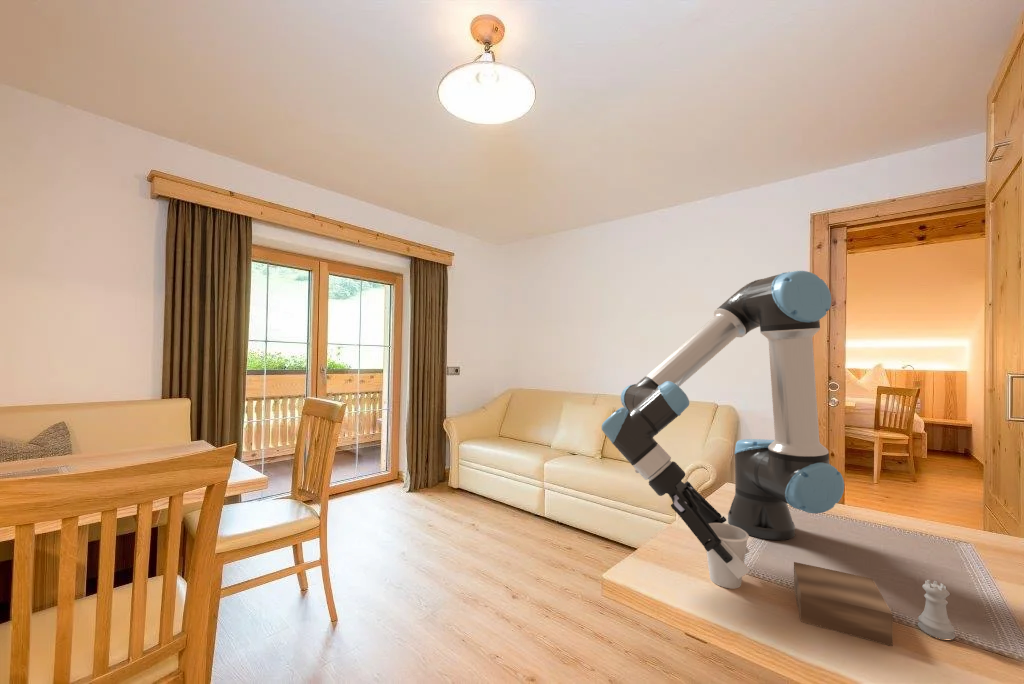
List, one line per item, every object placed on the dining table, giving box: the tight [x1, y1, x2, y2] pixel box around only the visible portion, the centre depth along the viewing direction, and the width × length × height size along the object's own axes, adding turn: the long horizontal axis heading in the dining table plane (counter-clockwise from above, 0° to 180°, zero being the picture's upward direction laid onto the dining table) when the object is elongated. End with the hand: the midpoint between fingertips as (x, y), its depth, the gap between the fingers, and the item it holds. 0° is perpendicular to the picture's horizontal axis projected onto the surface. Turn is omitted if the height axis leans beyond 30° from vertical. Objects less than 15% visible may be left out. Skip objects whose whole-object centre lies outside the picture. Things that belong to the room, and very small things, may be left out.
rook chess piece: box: [917, 579, 956, 640], centre depth 70 cm, size 4×4×8 cm
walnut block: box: [793, 561, 894, 647], centre depth 75 cm, size 12×12×5 cm
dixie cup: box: [706, 522, 750, 589], centre depth 85 cm, size 8×8×10 cm
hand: (743, 563), depth 83 cm, fingers closed on dixie cup, 8 cm apart
